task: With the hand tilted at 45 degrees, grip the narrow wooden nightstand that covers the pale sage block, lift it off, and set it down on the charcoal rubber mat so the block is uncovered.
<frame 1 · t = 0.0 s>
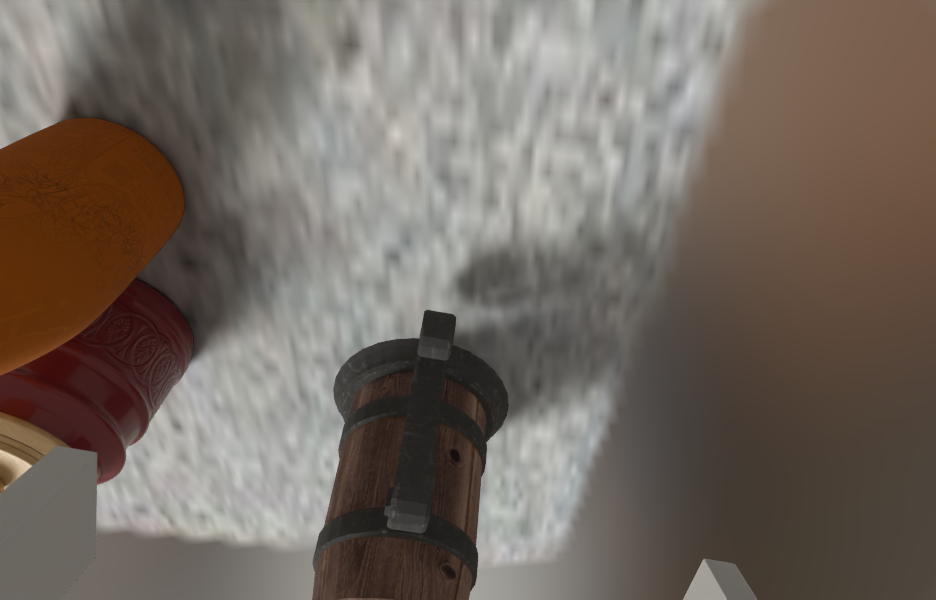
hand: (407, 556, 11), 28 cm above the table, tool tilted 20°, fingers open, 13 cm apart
tankard: (425, 378, 49), on the table
canister: (123, 322, 46), on the table
wine bottle: (124, 177, 37), on the table
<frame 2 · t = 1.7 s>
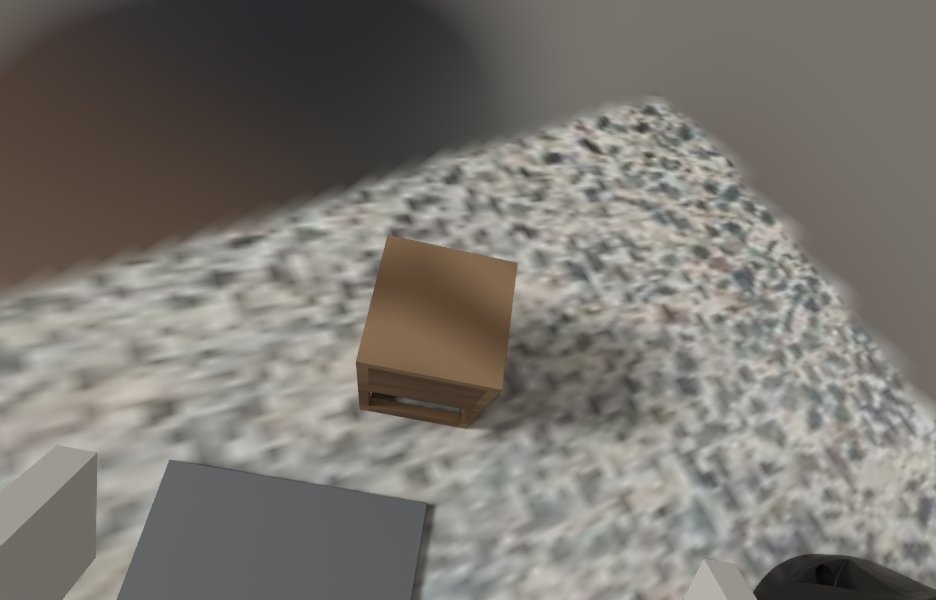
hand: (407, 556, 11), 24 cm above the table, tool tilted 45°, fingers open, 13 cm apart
wooden nightstand: (423, 367, 38), on the table
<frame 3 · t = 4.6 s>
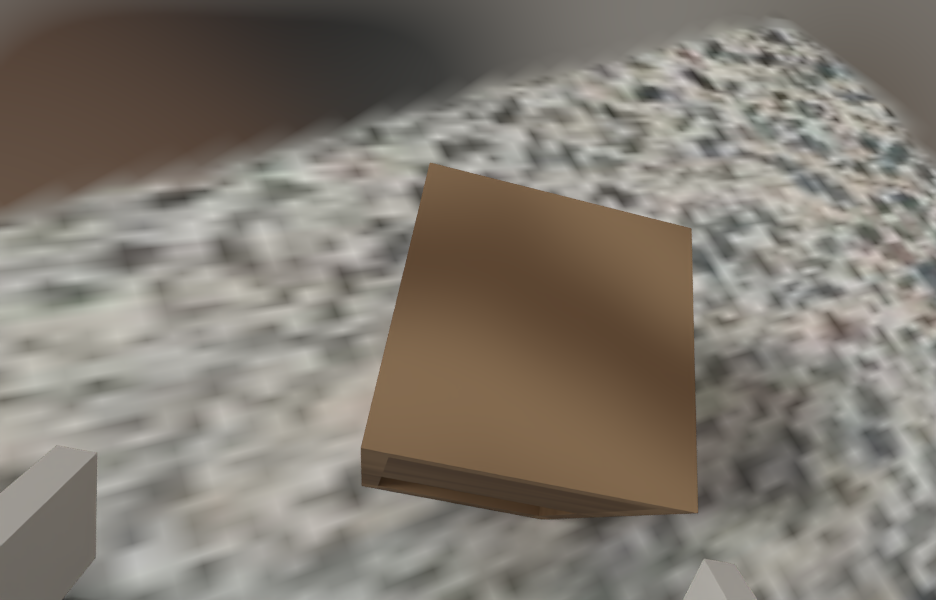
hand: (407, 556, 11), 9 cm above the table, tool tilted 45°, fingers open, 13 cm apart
wooden nightstand: (468, 411, 22), on the table
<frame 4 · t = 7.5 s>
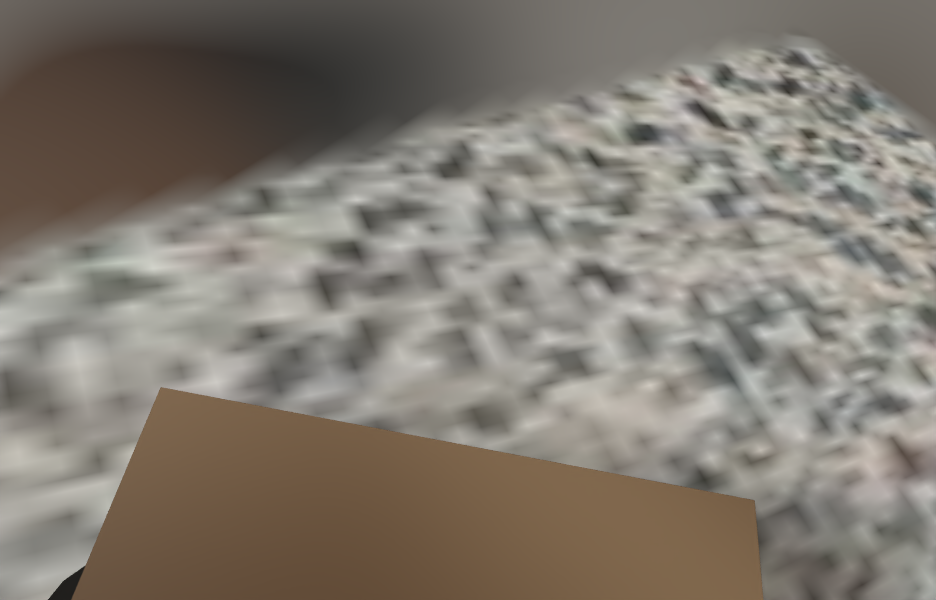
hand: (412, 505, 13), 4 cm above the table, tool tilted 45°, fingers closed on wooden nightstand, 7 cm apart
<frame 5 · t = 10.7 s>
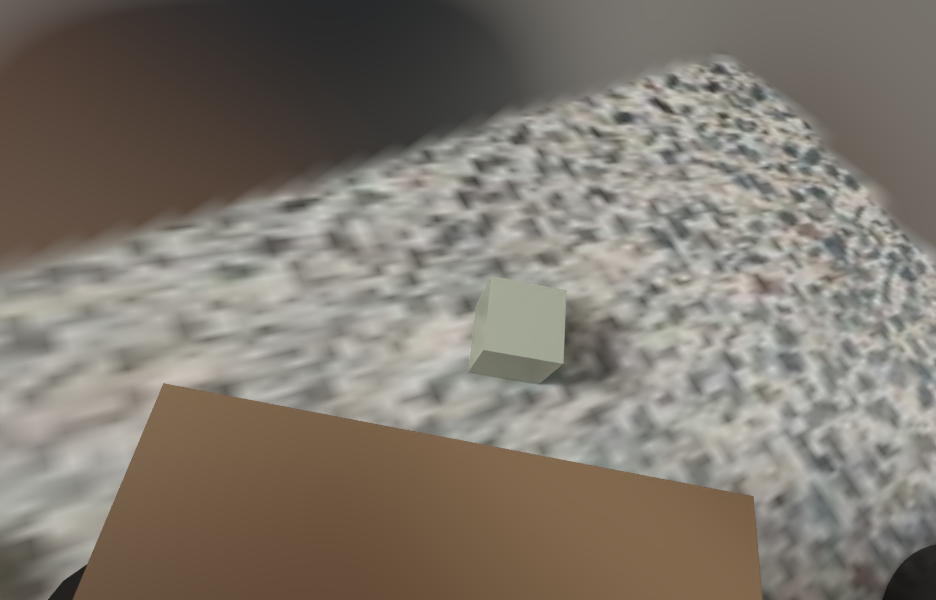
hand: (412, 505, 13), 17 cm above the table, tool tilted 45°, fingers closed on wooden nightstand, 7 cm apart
block: (506, 344, 33), on the table
when the fingers open (6 cm above the table, at t = 14.0 s): wooden nightstand drops 1 cm, resting on mat.
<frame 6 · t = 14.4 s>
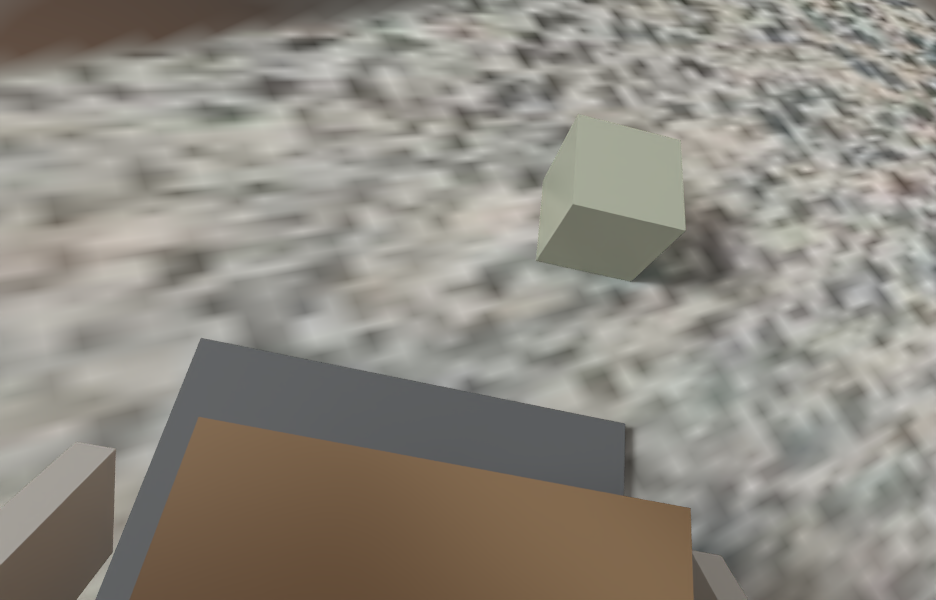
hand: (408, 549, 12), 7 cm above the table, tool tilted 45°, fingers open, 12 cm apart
block: (585, 230, 25), on the table
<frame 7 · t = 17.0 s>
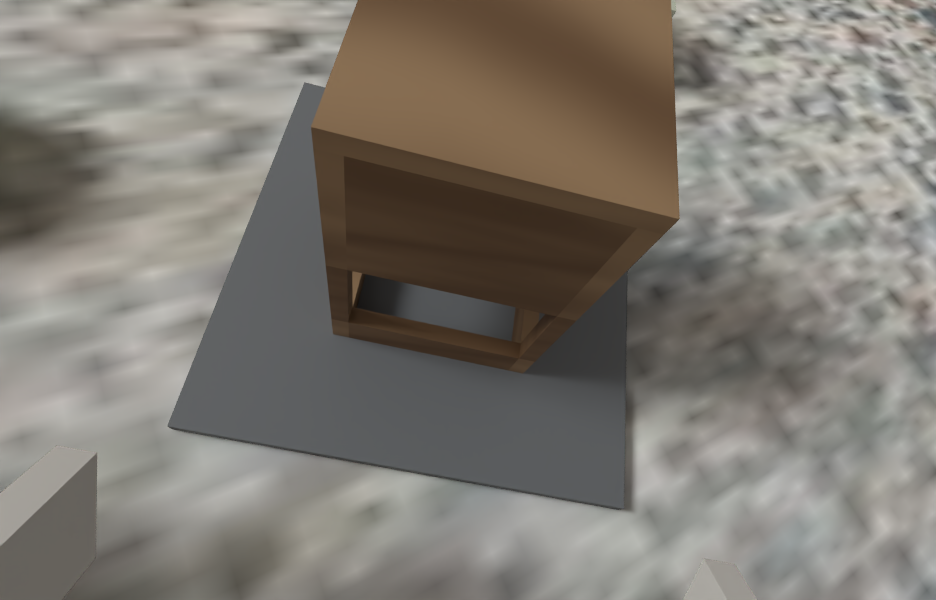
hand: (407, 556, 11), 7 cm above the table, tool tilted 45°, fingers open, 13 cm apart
mat: (443, 275, 22), on the table
wooden nightstand: (445, 270, 22), resting on mat
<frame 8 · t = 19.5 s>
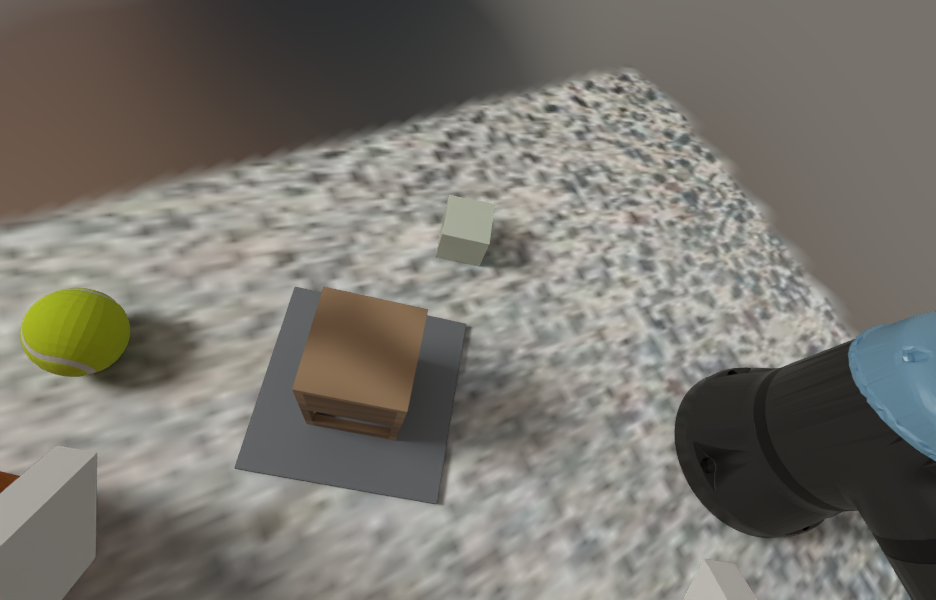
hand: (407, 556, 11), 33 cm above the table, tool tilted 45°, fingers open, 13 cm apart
block: (460, 243, 53), on the table
mat: (361, 390, 45), on the table
tennis ball: (98, 347, 43), on the table
wooden nightstand: (361, 389, 45), resting on mat
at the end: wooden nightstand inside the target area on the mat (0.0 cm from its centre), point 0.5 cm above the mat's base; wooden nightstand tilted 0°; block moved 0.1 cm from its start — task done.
